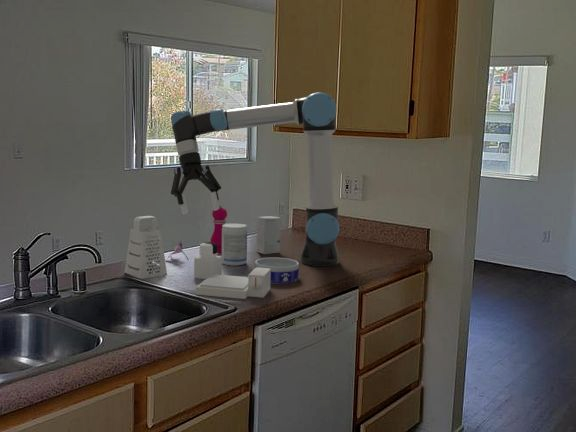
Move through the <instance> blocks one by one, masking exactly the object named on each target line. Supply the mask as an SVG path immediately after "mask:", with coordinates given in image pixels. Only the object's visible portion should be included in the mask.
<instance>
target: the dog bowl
mask: <svg viewBox="0 0 576 432" xmlns="http://www.w3.org/2000/svg"><path fill="white" fill-rule="evenodd" d="M256 267H257V268H270V269H271V281H270V285H271V284H273V285H275V284H276V285H284V284H285V285H286V284H287V285H288V284H291V283H295V282H297V281H298V280H299V270H300V269H299V268H300V264H299V262H298V261H297V260H295V259H291V258H288V257H287V258H286V257H262V258H258V259H256V260H255V261H254V269H255V268H256Z"/></svg>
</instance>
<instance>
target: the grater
mask: <svg viewBox="0 0 576 432" xmlns="http://www.w3.org/2000/svg"><path fill="white" fill-rule="evenodd" d="M150 218H151V226H142V227H140V224H141V223H140V222H141V220H143V219H150ZM127 246H128V247H127V253H126V259H125V268H124V274H126V273H127V275H129V274H130V276H132V277H134V278H138V279H139V280H141V279H142V280H143V279H147V278H153V277H159V276H165V274H166V275H168V270H167V265H166V256H165V251H164V244H163V236H162V230H161V229H159V219H158V218H157V217H156V216H153V215H144V216H141V215H140V216H136V217H135V218H134V219H133V228H130V231H129V239H128V245H127Z"/></svg>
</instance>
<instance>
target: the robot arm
mask: <svg viewBox="0 0 576 432" xmlns="http://www.w3.org/2000/svg"><path fill="white" fill-rule="evenodd" d="M336 113H337V105H336V102H335V100H334V98H333V97H332V96H331V95H330V94H328V93H325V92H322V91H321V92H320V91H317V92H313V93H310V94H309V95H307V96H305V97H301V98H294V100H293V101H292V102H291V101H290V102H283V103H274V104H267V105H266V104H265V105H257V106H249V107H238V108H233V109H224V110H223V108H216V109H212V110H208V111H204V112H200V113H196V114H192V113H191V111H189V110H179V111H175V112H173V113H172V114H171V116H170V121H171V128H172V133H173V137H174V141H175V146H176V150H177V155H178V156H179V157H178V160H179V164H180V165H179V166H178V167H176V168H174V169H173V170H174V171H173V172H174V176H173V180H172V186H171V190H170V195H172V196H173V195H174V197H176V199H177V200H176V201H177V203H178V205H179V206H180V210H181V214H182V215H186V214H188V213H189V210H188V209H189V208H188V205H187V199H186V195H185V194H183V193H184V191H185V189H186V187H187V185H188V182H189V181H191V180H195V181H196V180H197V181H199V182H201V183H202V184H203V185H204V186H205V187H206V188H207V189H208V191H210V193H209V196H210V200H211V206H212V209H213V210H214V211H216V210H218V209H219V204H220V203H219V200H220V198H219V194H218V191H220V190H221V189H222V186H221V184H220V183H219V182H218V180H217V179H216V177H215V175H214V174H213V173H212V171H211V168H210V166H209V165H206V166H202V160H201V155H200V152H199V151H200V149H199V145H198V142H197V141H198V140H197V136H201V135H205V134H210V133H215V132H216V133H217V132H223V131H229V130H237V129H238V130H239V129H247V128H256V127H265V126H274V125H283V124H292V123H295V124H297V125H298V126H299V125H302V131H303V133H304V135H306V136H307V151H308V152H307V153H308V154H307V155H308V156H307V157H308V160H307V161H308V183H309V185H308V187H309V202H308V204H307V205H306V206H305V215H306V216H305V217H306V220H305V242H304V245H303V248H302V251H301V253H300V260H299V261H300V263H302V264H304V265H309V266H315V267H331V266H336V264H337V265H339V263H340V256H339V252H338V248H337V245H336V244H337V243H336V238H338V235H339V233H340V223H339V205H338V204H337V203H336V202H335V200H334V176H333V144H332V143H333V142H332V141H333V140H332V137H333V134H334V133H335V132H336V129H337V127H336ZM180 166H181V167H180ZM182 174H183V177H182ZM181 177H182V179H181ZM213 210H212V211H213Z"/></svg>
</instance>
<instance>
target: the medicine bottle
mask: <svg viewBox="0 0 576 432" xmlns="http://www.w3.org/2000/svg"><path fill="white" fill-rule="evenodd" d="M193 264H194V266H193V267H194V268H193V269H194V270H193V271H194V273H193V274H194V276H193V278H194V279H199V280H206V279H207V278H208V277H209V276H211V275H213V274H216V275H223V273H222V272H223V271H222V270H223V269H222V267H223V263H222V255H218V254H217V244H215V243H212V242H210V241H209V242H208V241H207V242H201V243H200V244H199V256H196V257H194V261H193Z"/></svg>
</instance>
